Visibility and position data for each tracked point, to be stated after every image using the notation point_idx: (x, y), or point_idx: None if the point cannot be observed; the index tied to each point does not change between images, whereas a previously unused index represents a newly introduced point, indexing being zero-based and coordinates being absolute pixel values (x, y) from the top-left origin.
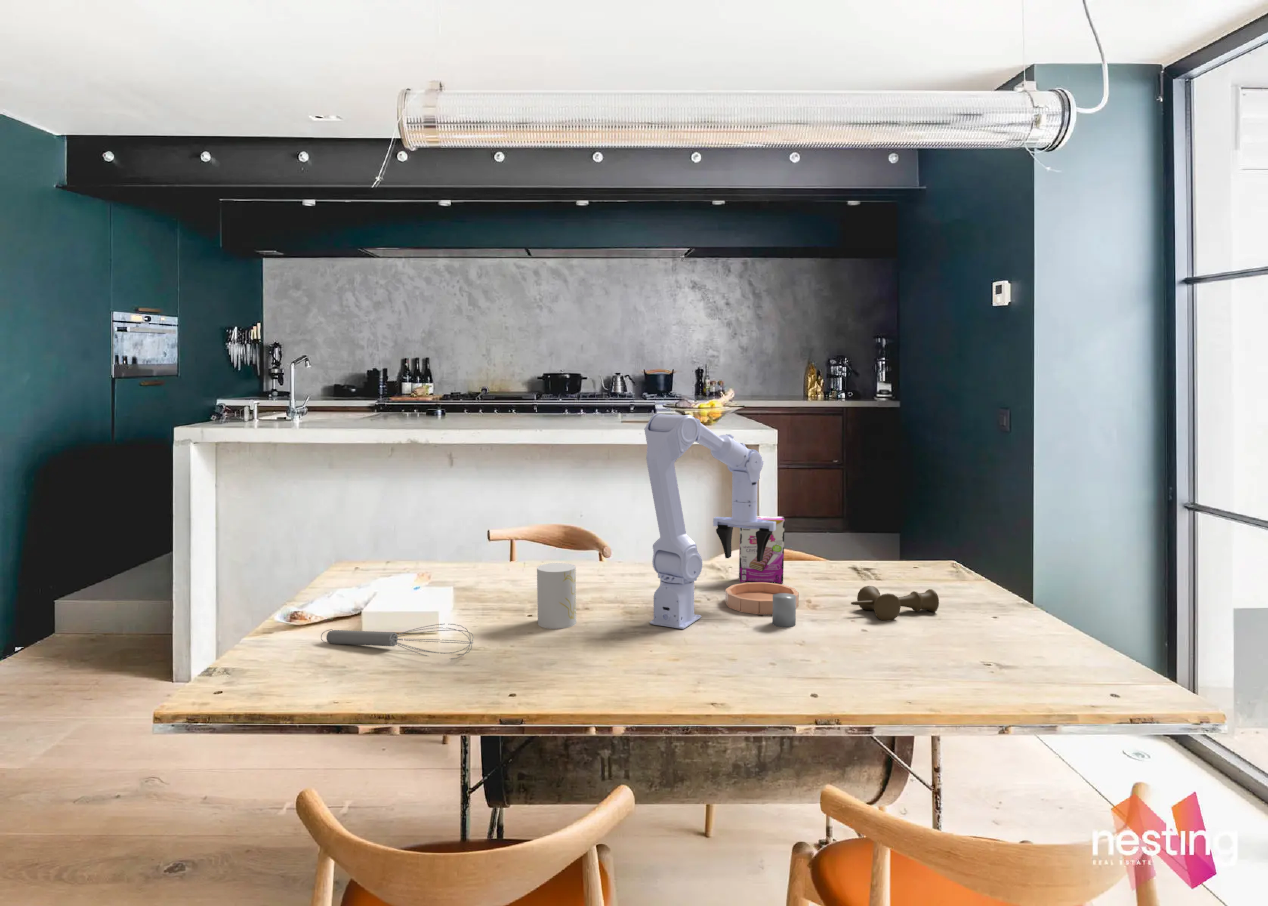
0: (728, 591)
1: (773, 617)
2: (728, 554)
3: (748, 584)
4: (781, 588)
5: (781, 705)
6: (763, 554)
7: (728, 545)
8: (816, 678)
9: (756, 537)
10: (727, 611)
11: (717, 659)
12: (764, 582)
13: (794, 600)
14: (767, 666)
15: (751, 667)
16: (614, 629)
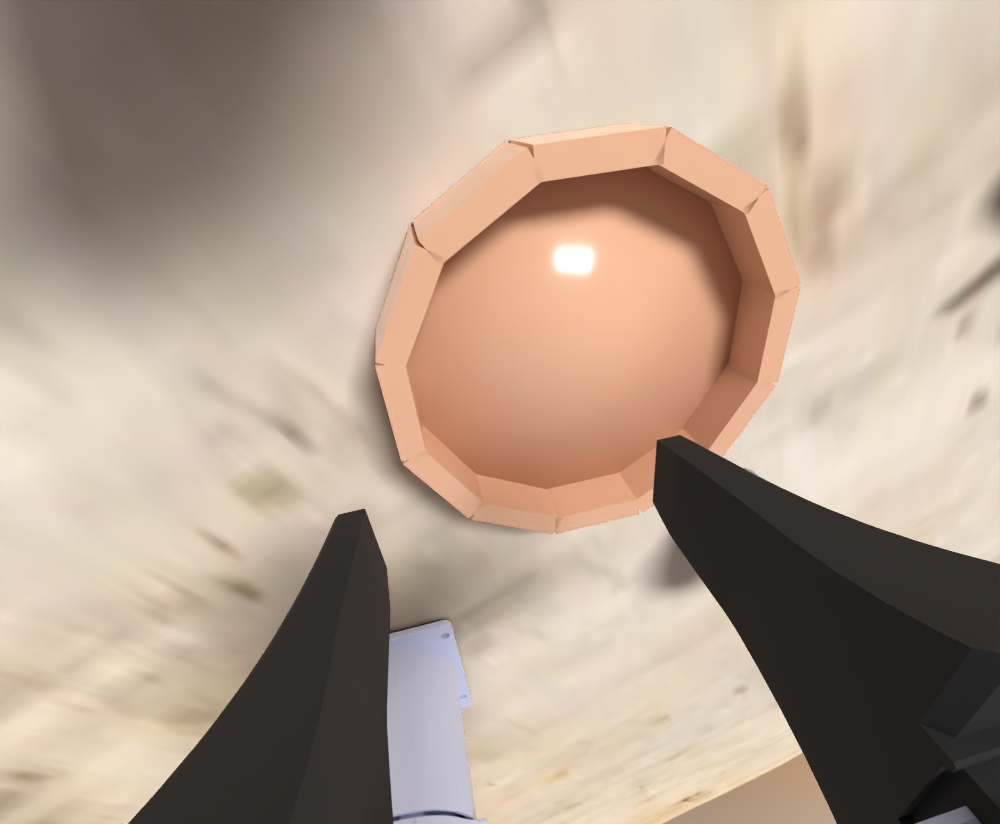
0: (440, 483)
1: None
2: (383, 587)
3: (445, 260)
4: (666, 171)
5: (775, 756)
6: (718, 457)
7: (371, 664)
8: None
9: (813, 767)
10: None
11: (633, 734)
12: (533, 150)
13: None
14: (733, 701)
15: (706, 718)
16: None
